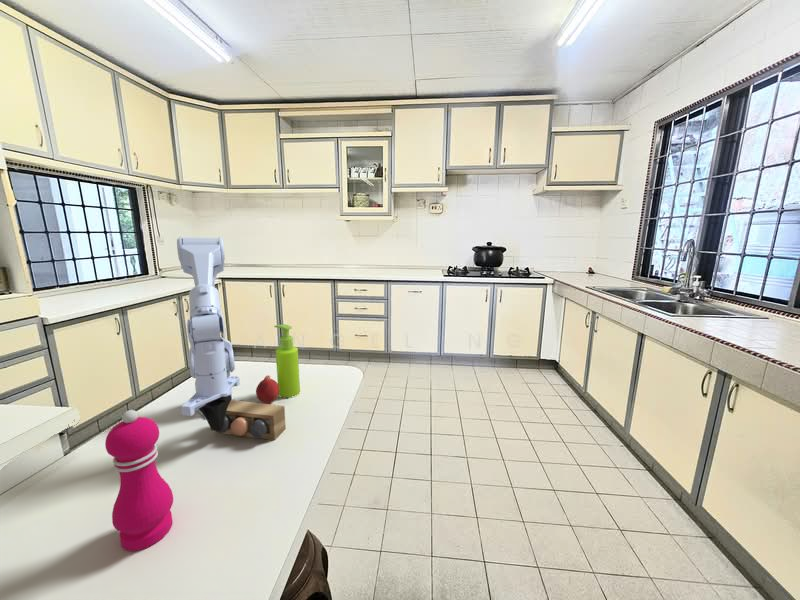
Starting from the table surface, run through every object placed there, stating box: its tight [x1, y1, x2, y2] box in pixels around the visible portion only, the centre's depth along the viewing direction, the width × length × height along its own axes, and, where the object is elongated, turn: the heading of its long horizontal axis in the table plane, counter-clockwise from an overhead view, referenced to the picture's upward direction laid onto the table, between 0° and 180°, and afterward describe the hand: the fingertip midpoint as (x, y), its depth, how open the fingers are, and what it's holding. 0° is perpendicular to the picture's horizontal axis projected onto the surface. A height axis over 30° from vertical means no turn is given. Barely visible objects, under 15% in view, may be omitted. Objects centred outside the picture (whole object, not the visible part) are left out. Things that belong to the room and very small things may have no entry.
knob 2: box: [249, 418, 270, 439], centre depth 75 cm, size 4×6×4 cm, turn 169°
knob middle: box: [231, 416, 251, 437], centre depth 76 cm, size 4×6×4 cm, turn 169°
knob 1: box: [216, 414, 233, 434], centre depth 77 cm, size 4×6×4 cm, turn 169°
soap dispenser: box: [274, 323, 301, 398], centre depth 94 cm, size 6×7×20 cm
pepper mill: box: [104, 409, 174, 552], centre depth 49 cm, size 7×7×20 cm
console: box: [214, 399, 287, 441], centre depth 77 cm, size 15×4×6 cm, turn 79°
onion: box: [255, 374, 280, 404], centre depth 89 cm, size 6×6×8 cm
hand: (216, 429), depth 73 cm, fingers closed
